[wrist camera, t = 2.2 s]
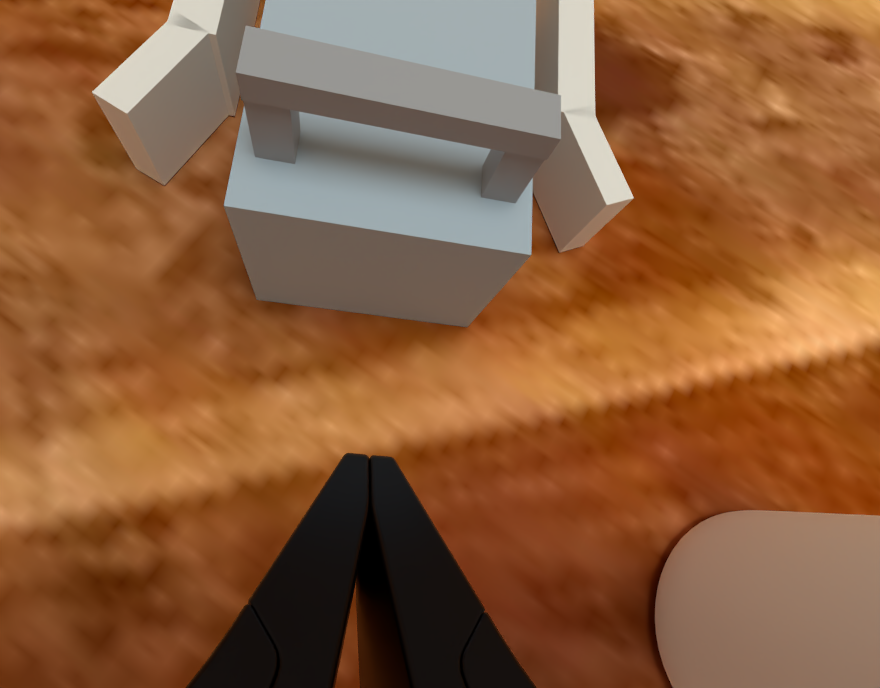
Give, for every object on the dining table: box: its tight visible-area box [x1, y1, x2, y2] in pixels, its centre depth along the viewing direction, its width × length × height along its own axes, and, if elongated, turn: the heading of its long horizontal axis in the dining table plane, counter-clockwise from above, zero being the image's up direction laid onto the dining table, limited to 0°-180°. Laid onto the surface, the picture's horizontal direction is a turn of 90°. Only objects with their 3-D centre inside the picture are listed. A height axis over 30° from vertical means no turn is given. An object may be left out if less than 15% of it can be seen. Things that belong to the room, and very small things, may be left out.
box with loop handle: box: [224, 0, 561, 327], centre depth 18 cm, size 15×8×10 cm, turn 176°
